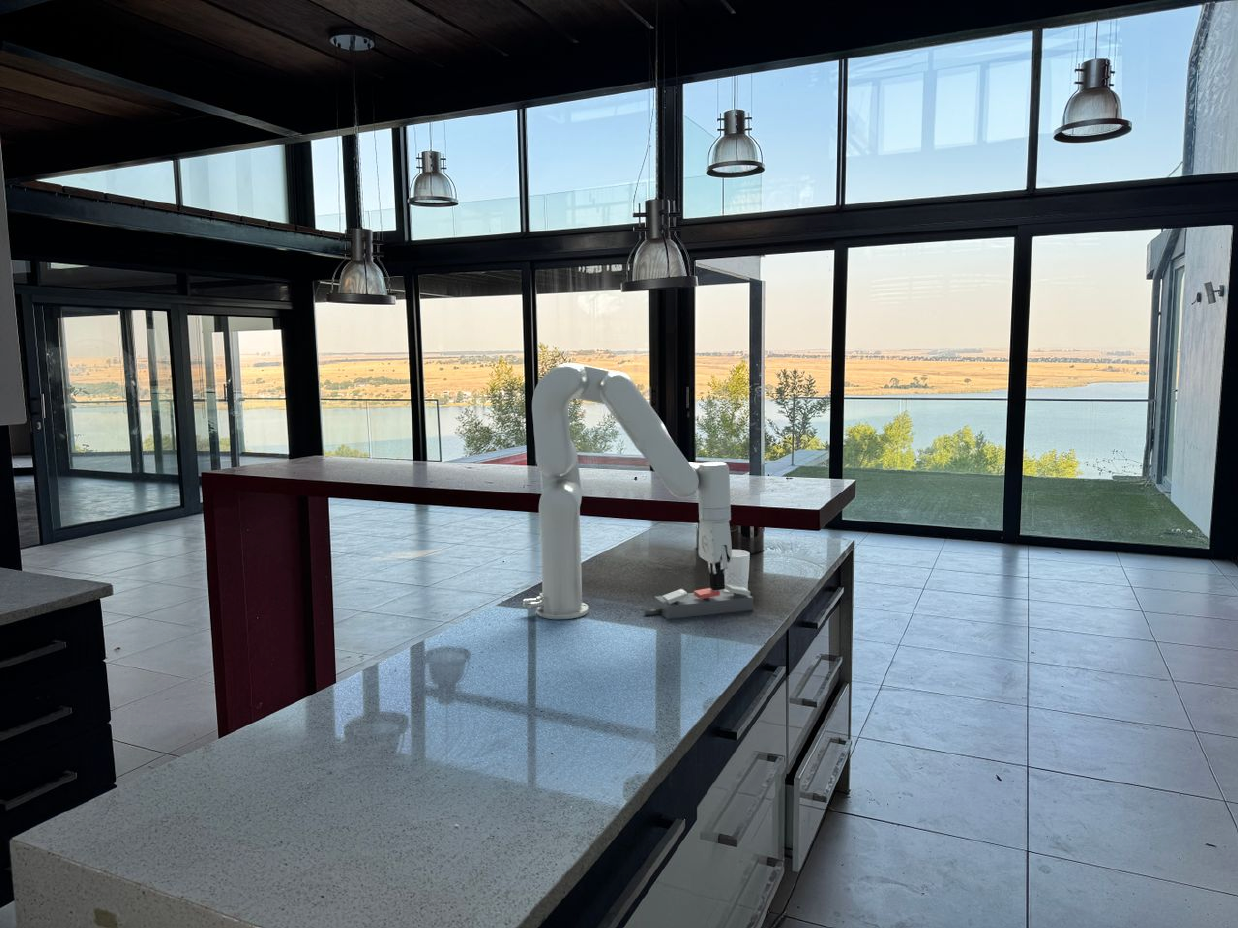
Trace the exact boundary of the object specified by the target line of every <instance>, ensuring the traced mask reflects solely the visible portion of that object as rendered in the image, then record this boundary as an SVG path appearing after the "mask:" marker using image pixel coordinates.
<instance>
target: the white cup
mask: <svg viewBox="0 0 1238 928" xmlns="http://www.w3.org/2000/svg"><path fill="white" fill-rule="evenodd" d="M750 554H751V553H750V552H749V551H747V550H742V549H732V559H731V561H730V562H727V563H728V569H725V573H724V576H725V584H726V585H732V586H737V587H743V588H745V589H747V590H748V589H749V588H748V587H749V583H748V582H749V576H750V575H749V574H750V573H749V572H750ZM721 590H725V589H721ZM748 591H749V590H748Z"/></svg>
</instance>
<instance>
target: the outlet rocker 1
mask: <svg viewBox="0 0 1238 928" xmlns="http://www.w3.org/2000/svg"><path fill="white" fill-rule="evenodd" d="M688 593H689V592H687V591H686V590H684V589H683V588H679V589H677V590H674V591H671V592H669V593H666V594H663V595H662V596H663V599H664V600H665V601H666V602H667V603H669V604H671V603H674V602H676V601H679V600H681V599H684V598H687V597H689V596H688Z"/></svg>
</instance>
